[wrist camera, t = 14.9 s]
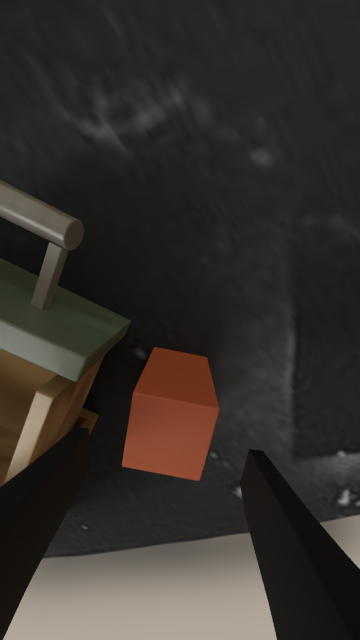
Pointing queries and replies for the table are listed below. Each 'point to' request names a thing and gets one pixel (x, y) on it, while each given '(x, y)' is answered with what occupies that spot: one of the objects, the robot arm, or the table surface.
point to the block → (172, 415)
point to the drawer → (45, 338)
